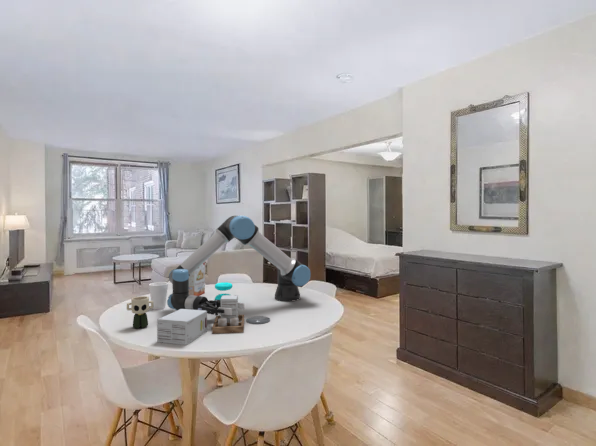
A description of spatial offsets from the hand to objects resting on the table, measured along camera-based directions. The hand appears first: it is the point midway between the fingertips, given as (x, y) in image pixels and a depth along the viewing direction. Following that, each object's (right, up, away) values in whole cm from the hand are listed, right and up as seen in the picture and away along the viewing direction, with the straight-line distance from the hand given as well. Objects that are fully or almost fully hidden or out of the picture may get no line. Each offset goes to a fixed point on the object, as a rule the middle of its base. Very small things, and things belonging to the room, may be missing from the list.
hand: (237, 308), depth 162 cm
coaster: (+8, -7, +8) cm, 14 cm away
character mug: (-43, -8, -2) cm, 44 cm away
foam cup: (-47, -7, +30) cm, 56 cm away
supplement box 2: (-4, -8, +2) cm, 9 cm away
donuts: (-16, -6, +46) cm, 49 cm away
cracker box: (-36, -6, +60) cm, 70 cm away
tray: (-4, -8, -1) cm, 8 cm away
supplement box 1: (-20, -8, -14) cm, 26 cm away
